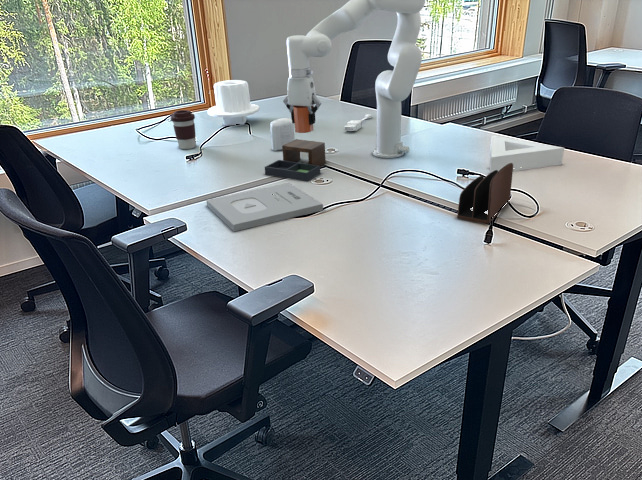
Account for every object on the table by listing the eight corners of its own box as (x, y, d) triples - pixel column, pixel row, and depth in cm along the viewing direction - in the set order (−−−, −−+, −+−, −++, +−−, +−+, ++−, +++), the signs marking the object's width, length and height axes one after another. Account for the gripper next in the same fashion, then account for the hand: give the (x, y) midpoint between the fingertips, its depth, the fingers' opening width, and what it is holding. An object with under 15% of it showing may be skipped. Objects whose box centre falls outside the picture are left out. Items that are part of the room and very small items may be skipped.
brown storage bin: (325, 163, 227) (324, 142, 223) (312, 170, 219) (311, 149, 215) (297, 159, 233) (296, 139, 228) (283, 166, 225) (282, 145, 221)
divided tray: (320, 173, 216) (320, 165, 214) (307, 181, 209) (306, 173, 207) (279, 167, 224) (278, 159, 222) (265, 174, 217) (264, 166, 215)
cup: (316, 128, 221) (315, 104, 216) (307, 133, 215) (305, 108, 211) (301, 127, 224) (299, 103, 219) (291, 132, 218) (289, 107, 214)
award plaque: (323, 210, 184) (322, 203, 183) (234, 231, 172) (233, 224, 171) (289, 188, 203) (288, 182, 202) (207, 206, 191) (206, 199, 190)
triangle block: (561, 164, 217) (564, 147, 213) (528, 183, 200) (530, 165, 197) (489, 150, 235) (491, 134, 231) (454, 166, 218) (455, 149, 215)
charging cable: (374, 119, 289) (374, 112, 288) (353, 132, 263) (353, 125, 261) (364, 118, 291) (364, 111, 289) (343, 132, 264) (343, 124, 263)
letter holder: (509, 203, 185) (515, 159, 178) (488, 225, 171) (493, 178, 164) (479, 197, 190) (483, 155, 183) (456, 218, 175) (460, 173, 168)
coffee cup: (171, 149, 250) (164, 113, 242) (184, 143, 258) (178, 108, 250) (190, 151, 247) (184, 115, 239) (203, 144, 254) (198, 109, 247)
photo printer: (291, 145, 250) (289, 115, 244) (296, 147, 247) (294, 117, 241) (270, 149, 245) (267, 119, 239) (275, 151, 242) (272, 121, 236)
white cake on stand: (257, 128, 276) (253, 87, 267) (205, 130, 277) (199, 88, 267) (263, 116, 298) (260, 77, 288) (215, 117, 298) (209, 78, 289)
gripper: (325, 72, 208) (328, 122, 217) (285, 70, 216) (289, 119, 225) (315, 76, 202) (318, 127, 212) (273, 74, 210) (278, 124, 219)
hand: (303, 122), depth 218 cm, fingers closed on cup, 6 cm apart
